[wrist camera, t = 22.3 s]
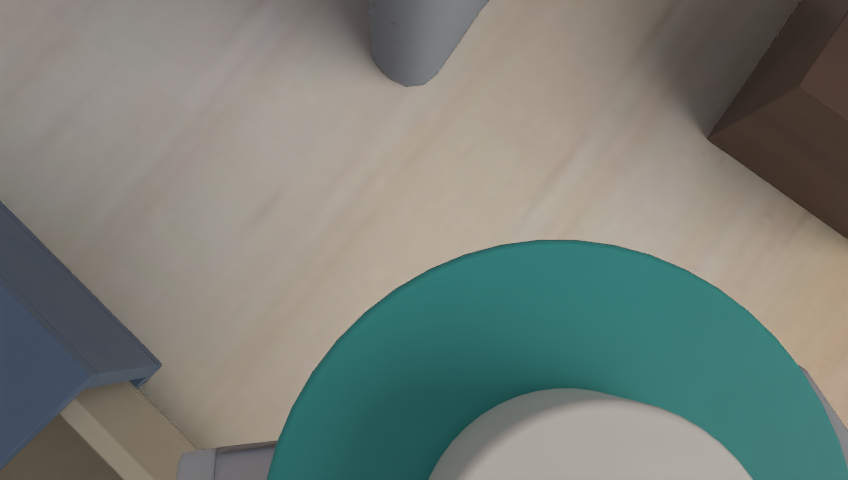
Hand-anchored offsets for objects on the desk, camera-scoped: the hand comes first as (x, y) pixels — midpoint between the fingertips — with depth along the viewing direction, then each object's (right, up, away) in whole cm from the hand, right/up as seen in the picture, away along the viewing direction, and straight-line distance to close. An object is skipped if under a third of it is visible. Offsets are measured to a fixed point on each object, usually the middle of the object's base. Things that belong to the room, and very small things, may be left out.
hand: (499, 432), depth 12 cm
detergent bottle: (0, -1, +6) cm, 6 cm away
